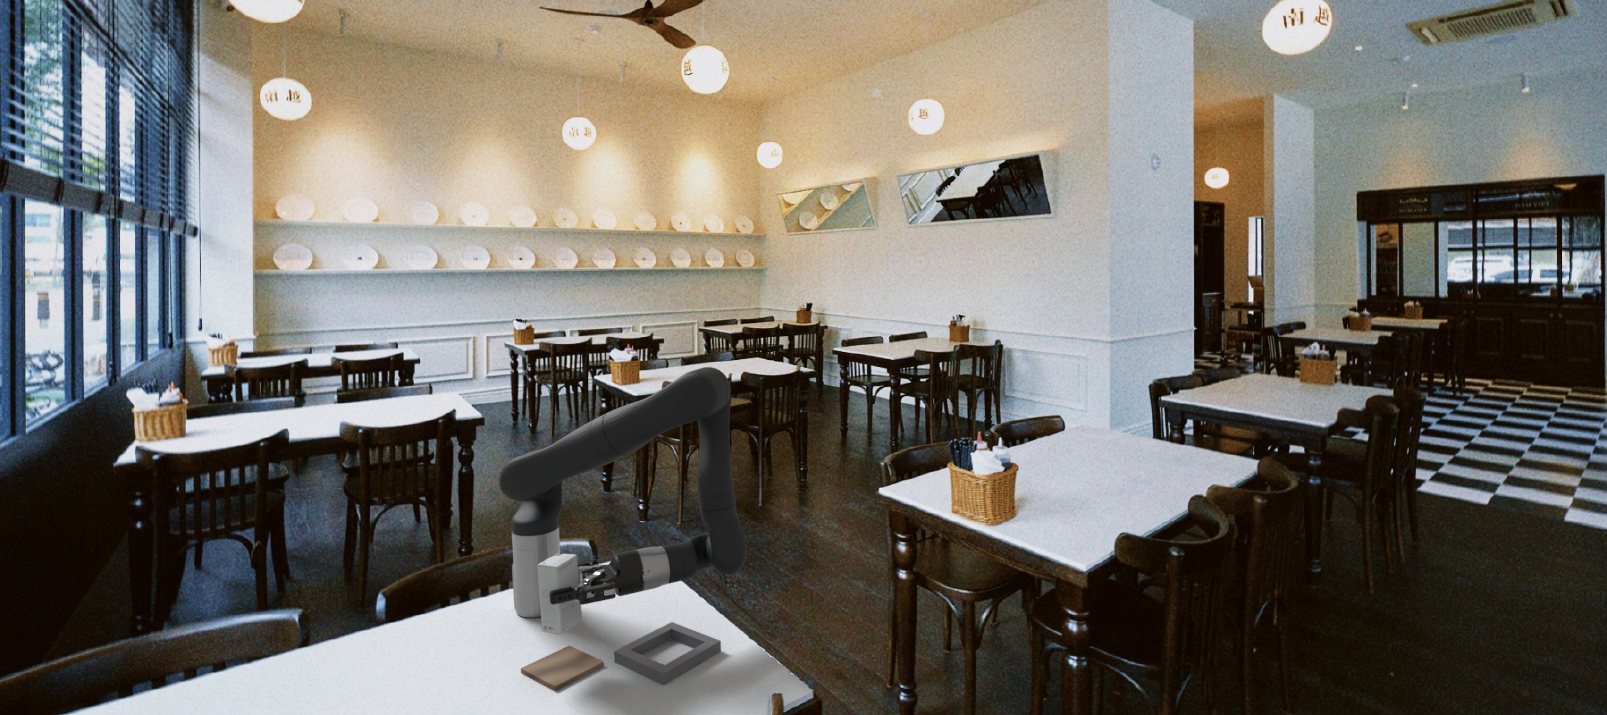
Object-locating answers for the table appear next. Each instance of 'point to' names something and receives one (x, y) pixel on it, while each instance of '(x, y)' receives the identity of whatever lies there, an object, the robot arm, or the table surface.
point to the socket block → (666, 673)
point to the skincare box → (552, 577)
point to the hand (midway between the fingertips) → (546, 590)
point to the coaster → (562, 667)
